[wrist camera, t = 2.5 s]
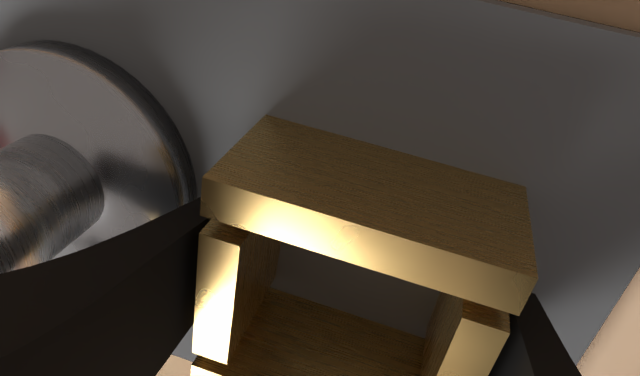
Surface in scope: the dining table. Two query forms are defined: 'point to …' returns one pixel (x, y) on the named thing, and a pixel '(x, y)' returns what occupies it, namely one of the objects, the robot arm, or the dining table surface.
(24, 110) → the silver disc with post
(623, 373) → the dining table surface
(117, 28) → the mat
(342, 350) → the bronze square frame
